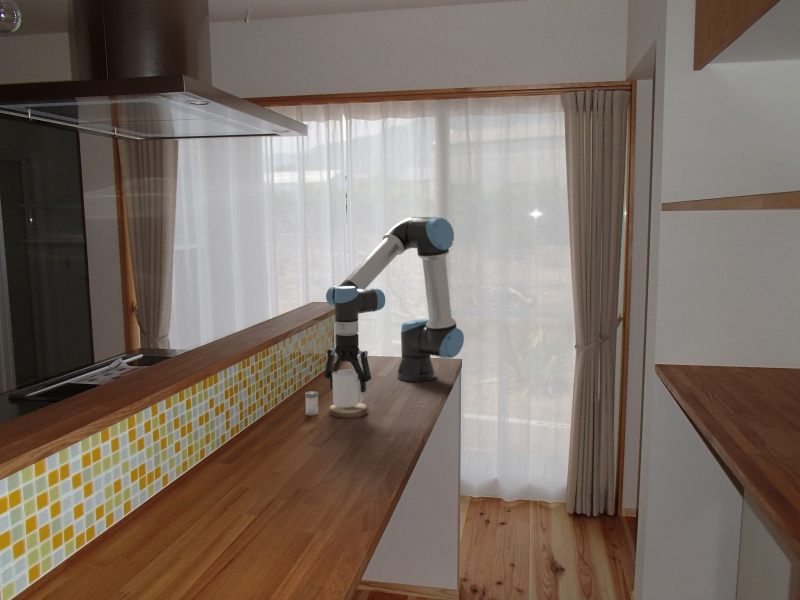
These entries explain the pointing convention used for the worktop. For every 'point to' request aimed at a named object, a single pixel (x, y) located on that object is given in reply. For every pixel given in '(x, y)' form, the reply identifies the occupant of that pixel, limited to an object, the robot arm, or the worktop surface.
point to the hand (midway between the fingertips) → (348, 399)
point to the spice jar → (311, 403)
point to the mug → (345, 388)
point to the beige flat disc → (348, 411)
